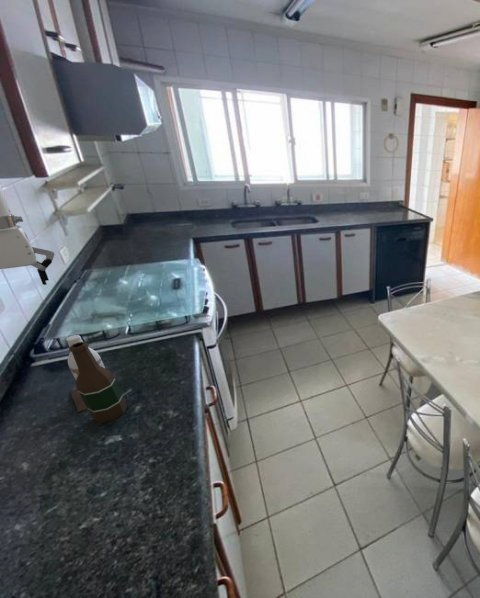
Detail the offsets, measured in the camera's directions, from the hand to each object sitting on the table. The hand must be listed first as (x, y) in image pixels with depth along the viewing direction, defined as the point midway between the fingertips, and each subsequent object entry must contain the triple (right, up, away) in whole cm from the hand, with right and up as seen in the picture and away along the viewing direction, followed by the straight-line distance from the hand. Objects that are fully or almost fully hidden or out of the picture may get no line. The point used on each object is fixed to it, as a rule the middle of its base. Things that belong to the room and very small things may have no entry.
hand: (18, 287), depth 87 cm
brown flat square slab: (+8, -32, +15) cm, 37 cm away
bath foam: (+8, -32, +15) cm, 36 cm away
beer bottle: (+18, -37, +8) cm, 41 cm away
